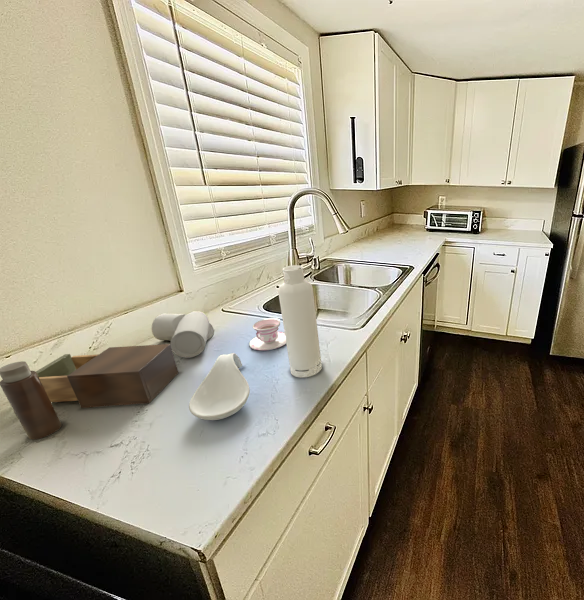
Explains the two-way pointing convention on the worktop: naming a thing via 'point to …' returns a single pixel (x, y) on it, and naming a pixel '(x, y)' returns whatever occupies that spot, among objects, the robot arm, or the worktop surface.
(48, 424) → the pepper mill
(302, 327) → the bottle
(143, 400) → the cabinet
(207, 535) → the worktop surface
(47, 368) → the drawer
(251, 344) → the teacup
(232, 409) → the spoon rest
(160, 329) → the l-shaped cylinder
